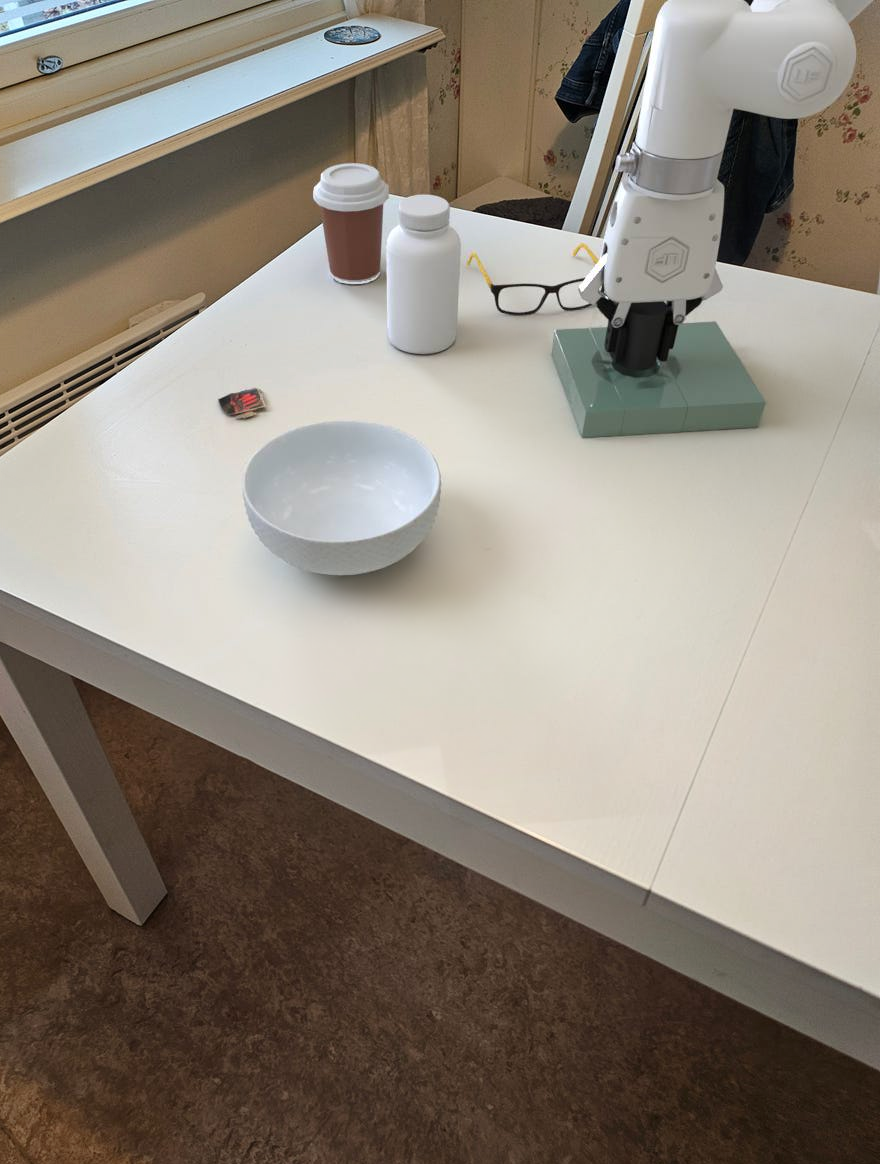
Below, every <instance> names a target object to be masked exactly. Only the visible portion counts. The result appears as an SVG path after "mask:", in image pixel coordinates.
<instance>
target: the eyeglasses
mask: <svg viewBox="0 0 880 1164" xmlns="http://www.w3.org/2000/svg"><path fill="white" fill-rule="evenodd" d="M582 248H583V249H585V252H587V254H588V256H589V257H590V258H591V260H592V261H593V262H594V264H595V266H596V265H597V263H598V262H599V260H600V259H598V257H596V255H595V254H594V253H593V252H592V250H591V249H590V248H589V247H588V246H587V244H586V243H580V244H579V245H578V246H577V247H576V248H575V249H574V250H573V251H572V256H573V255H574V256H573V257H576V256H577V254H578V253H579V251H580V249H582ZM473 258H474V259H475V261H476V263H477V265H478V267H479V269H480V271H481V274H482V275H483V277H484V279H485V281H486V284H487V286H488V288H489V290H490V292H491V294H492V295H493V297H494V302H495V303H494V304H495V307H496V309H497V311H498V312H500V313H502V314H505V315H511V316H512V315H513V316H527V315H533V314H536V313H537V312H538V311H539V310H540V309H541V308H542V306H543V305H544V303H545V301H546V299H547V297H548V295H549V294H555V295H556V299H557V303H558V305H559V307H560V309H562V310H563V311H578V310H582V308H583V309H587V308H590V307H592V306H593V305H591V304H590V303H587V304H583V305H581V306H575V307H570V306H569V307H568V306H567V307H566V306H565V305H563V304H562V303H561V299H560V290H561V289H562V288H564V287H565V286H568V285H572V284H575V283H579V282H581V283H582V282H583V281H584V280H585V278H586V277H581V278H576V279H572V280H568V281H565V282H562V283H558V284H555V285H546V284H541V283H509V284H508V283H507V284H493V281H492V280H491V278H490V277H489V275H488V273H487V271H486V269H485V267H484V266H483V264H482V263H481V260H480V259H479V257H478V255H477V254H476V253H475V252H472V253H470V255H469V256H468V259H467V261H466V265H467V266H468V265H469V266H470V264H471V262H472V260H473ZM517 287H518V288H519V287H532V288H533V287H534V288H541V289H544V293H543V295H542V297H541V299H540V301H539V304H538V305H537V306H536V308H533V309H532V310H527V311H523V312H522V311H520V312H519V311H517V312H516V311H510V310H504V309H502V308H501V307H500V303H499V302H500V301H499V300H500V299H499V297H500V293H501V292H502V290H504V289H508V288H517ZM600 291H601V292H604V293H605V290H604V283H603V284H602V285H601V287H600Z"/></svg>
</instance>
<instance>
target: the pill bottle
mask: <svg viewBox="0 0 880 1164" xmlns="http://www.w3.org/2000/svg"><path fill="white" fill-rule="evenodd" d="M397 208H398V209H397V212H398V213H397V216H398V217H397V218H398V225H396V226H395V227H394V228H392V230H391V231H390V233H389V234H388V237H387V240H386V248H385V251H386V252H385V253H386V254H385V255H386V316H387V317H386V319H387V320H386V321H387V322H386V323H387V325H386V326H387V336H388V340H389V342H390V343H391V345H392V346H393V347H395V348H396V349H398V350H401V351H402V352H405V353H408V354H409V353H410V354H416V355H430V354H435V353H439V352H443V351H444V350H447V349H448V348H450V347H451V346H452V345H453V344H454V342H455V341H456V338H457V332H458V313H459V295H460V293H459V292H460V275H461V274H460V272H461V252H462V242H461V238H460V235H459V233H458V232H457V230H455V228H453V227H452V226H451V225H450V218H451V217H450V215H451V214H450V213H451V206H450V203H449V202H448V201H447V200H446V199H445V198H443V197H440V196H438V195H433V194H415V195H410V196H408V197H405V198H403V199H402V200H401V201H400V202H399V203H398V206H397Z"/></svg>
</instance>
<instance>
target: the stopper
mask: <svg viewBox="0 0 880 1164" xmlns="http://www.w3.org/2000/svg"><path fill="white" fill-rule="evenodd" d="M666 312H667V304H666V301H661V302H639V303H631V306H630V308H629V311H628V313H627V316H626V318H625V319H626V320H625V324H626V326H627V328H628V332H627V337H626V343H625V348H624V353H623V358H622V362H620V365H621V366H622V367H624V368H627V369H630V370H647V369H650V368H652V367H653V366H654V365H655V362H656V358H657V353H658V349H659V344H660V340H661V335H662V331H663V326H664V321H665V317H666Z"/></svg>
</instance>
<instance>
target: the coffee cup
mask: <svg viewBox="0 0 880 1164" xmlns="http://www.w3.org/2000/svg"><path fill="white" fill-rule="evenodd" d="M389 187H390V186H389V184H388V183H386V182H385V181H384V179H382V178H381V173H380V171H378V169H376V167H374V166H371V165H368V164H365V163H357V162H353V163H352V162H347V163H341V164H335V165H333V166H330V167H328V168H326V169H325V170H323V171H322V173H321V174H320V181H318V183H317V184H316V185H314V187H313V192H312V195H313V200H314V202H315V203H316V204H317V205H318V206H319V209H320V216H321V221H322V228H323V235H324V240H325V247H326V253H327V258H328V259H327V260H328V266H329V273H330V272H331V274H332V275H333V277H335V278H338V279H340V280H342V281H347V282H362V281H367V280H371V279H372V278H375V277H376V276H377V275H378V274H379V272H380V273H381V265H382V264H381V263H382V241H383V223H384V222H383V221H384V220H383V219H384V204H385V203H386V201H388V200H389V198H390V189H389Z"/></svg>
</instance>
